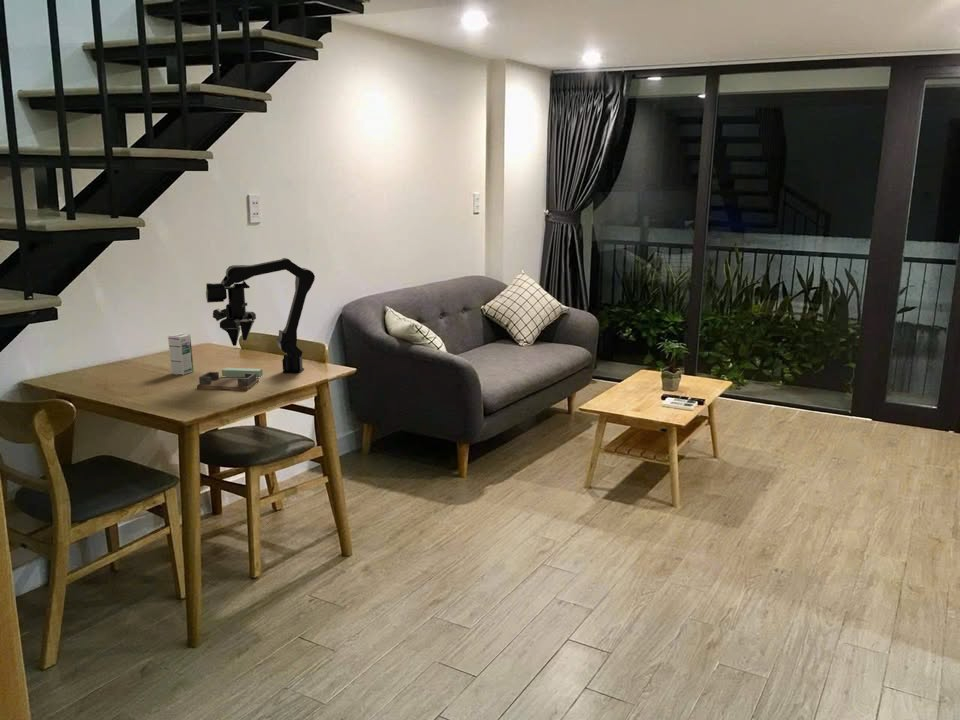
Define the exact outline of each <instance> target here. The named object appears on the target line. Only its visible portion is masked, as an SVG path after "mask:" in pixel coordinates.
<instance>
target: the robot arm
mask: <svg viewBox="0 0 960 720" xmlns="http://www.w3.org/2000/svg"><path fill="white" fill-rule="evenodd" d="M281 271H287V272H289V273H290V274H292V275H294V276H295V280H294V281H295V282H294V283H295V284H294V286H295V287H294V295H293V298H292V302H291V306H290V309H289V313H288V318H287V321H286V324H285V327H284V329H283V330H281V329H279V330H278V336H277V338H276V339H275V340H276V341H277V345H278V348H279V349H280V350H281V351H282V352H284V355H283V358H282V359H281V361H282V363H281V364H282V373H289V374H291V373H293V374H299V373H301V372H302V371H304V370H305V368H304V367H303V350H301V349H300V347H299V346H297V343H298V327H299V323H300V320H301V316H302V313H303V309H304V306H305V301H306V297H307V294H308V293H309V291H310V290H311V288H312V285H313V284H314V282H315V279H316V278H315V277H316V276H315V274H314V272H313V271H312V270H311V269H308V268H306V267H300V266H299V265H297V264H295V263H294V262H293V261H292V260H291V259H289V258H287V257H283V258H281V259H276V260H275V259H274V260H271V261H266V262H260V263H257V264H250V265H249V264H248V265H247V264H238V265H237V264H235V265H229V266H228V267H227V269H226V270H225V276H224V277H223V279H222V280H221V282H220V283H219V282H218V283H210V282H206V284H205V285H206V290H205V298H206V302H207V303H221V302H223V303H224V302H225V301H226V300H227V298H228V303H227V304H226V305H225V308H223V309H220V308H216V309H214V310H213V311H212V312H213V313H212V318H213V319H215V321H216V322H219V321H220V320H221V321H220V322H219V328H220V329H221V330H223V331H225V332H226V333H227V335H228V337H229V339H230V342H231V345H232V347H233V346H234V347H236V346H237V344H238V340H239V336H240V331H241V338H242V340H243V341H247V340H248V337H249V334H250V332H251V330H252V327H253V324H254V323H255V320H257V316H256V315H257V314H256V313H255V312H253V311H247V310H246V309H247V306H248V302H246V297H245V289H250V285H249V284H247V282H246V281H247V280H249V279H251V278H253V277H255V276H261V275H265V274H270V273H271V274H272V273H276V272H281Z"/></svg>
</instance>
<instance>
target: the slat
mask: <svg viewBox="0 0 960 720" xmlns="http://www.w3.org/2000/svg"><path fill="white" fill-rule="evenodd" d="M245 373H255V374H256V377H260V378H262V377H263V376H262V375H264V372H263V368H252V367H251V368H248V367H247V368H245V367H244V368H243V367H224V368H222V369H221V377H222V376H226V377H225V378H237V377H245ZM261 376H262V377H261Z"/></svg>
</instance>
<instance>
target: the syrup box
mask: <svg viewBox="0 0 960 720" xmlns="http://www.w3.org/2000/svg"><path fill="white" fill-rule="evenodd" d="M191 337H192V336H191V333H184V332H183V333H181V332H180V333H176V334H172V335H168V336H167V340H168V353H169V361H170V372H171V374H173V375H178V374H182V376H184V374H185V375H187V374H191V373H193V372H194V361H193V360H194V359H193V349H192V338H191Z"/></svg>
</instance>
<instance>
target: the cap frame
mask: <svg viewBox="0 0 960 720" xmlns="http://www.w3.org/2000/svg"><path fill="white" fill-rule="evenodd" d="M219 373H220V372H219V371H207V372H206V373H204V374H202V375H200V376H199V379H198V380H199V384H197V385H196V389H197V388H198V389H197V390H199V389H200V390H219V389H230V390H229V391H246V390H248V389H249V388H250V389H251V387H252V386H253V387H255V386H256V385H257V384H259V383H260V380H259V379H260V378H256V374H255V373H245V378H237V377H220V374H219ZM258 382H259V383H258ZM256 383H257V384H256ZM255 384H256V385H255ZM254 385H255V386H254ZM253 387H252V388H253ZM250 389H249V390H250ZM249 390H248V391H249Z"/></svg>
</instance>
